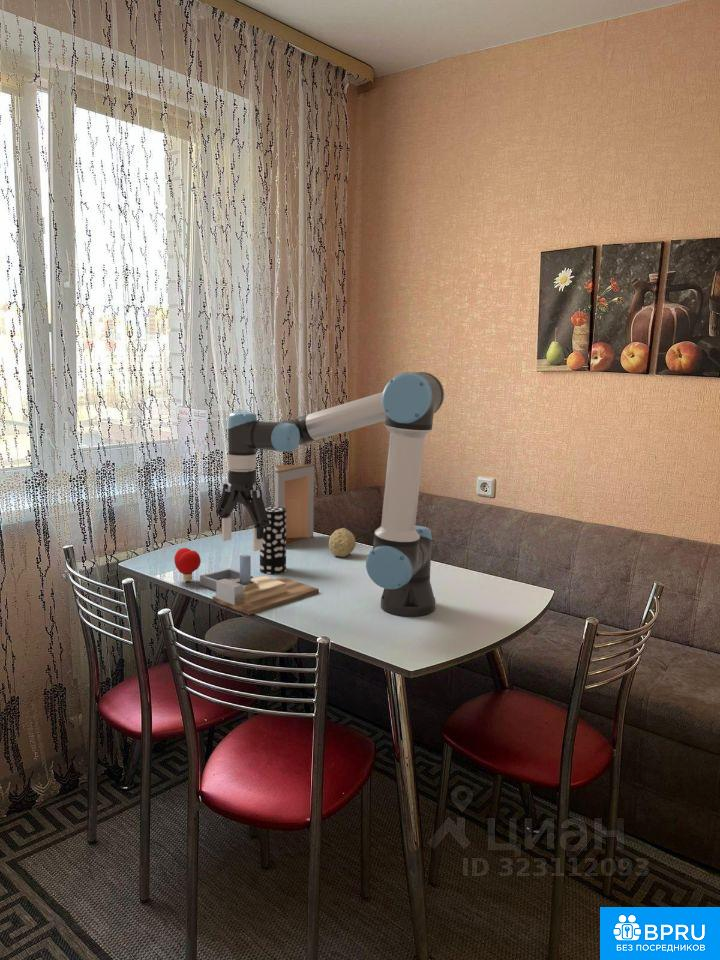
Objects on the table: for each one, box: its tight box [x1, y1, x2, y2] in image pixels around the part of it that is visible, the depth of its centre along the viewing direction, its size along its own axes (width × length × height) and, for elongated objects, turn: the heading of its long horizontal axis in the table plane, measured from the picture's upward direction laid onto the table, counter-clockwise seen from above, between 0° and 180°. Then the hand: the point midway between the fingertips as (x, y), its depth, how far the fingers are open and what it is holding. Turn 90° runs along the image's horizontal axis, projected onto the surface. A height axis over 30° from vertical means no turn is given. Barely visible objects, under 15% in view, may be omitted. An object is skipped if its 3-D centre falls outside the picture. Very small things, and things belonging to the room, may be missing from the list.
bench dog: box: [216, 579, 243, 605], centre depth 200 cm, size 8×3×5 cm, turn 48°
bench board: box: [211, 576, 320, 616], centre depth 208 cm, size 16×26×1 cm, turn 138°
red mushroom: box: [174, 547, 201, 583], centre depth 219 cm, size 9×7×10 cm
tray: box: [199, 567, 254, 593], centre depth 217 cm, size 11×11×3 cm
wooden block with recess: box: [234, 575, 286, 603], centre depth 207 cm, size 10×14×4 cm
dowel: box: [239, 554, 252, 586], centre depth 203 cm, size 3×3×9 cm
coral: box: [328, 527, 357, 558], centre depth 251 cm, size 10×10×10 cm
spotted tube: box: [259, 506, 287, 575], centre depth 231 cm, size 8×8×20 cm
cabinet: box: [274, 463, 315, 547], centre depth 268 cm, size 21×10×28 cm, turn 147°
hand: (241, 545), depth 202 cm, fingers open, 13 cm apart
